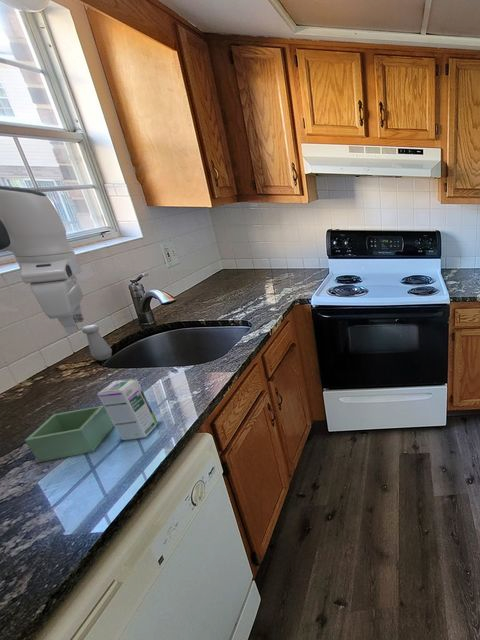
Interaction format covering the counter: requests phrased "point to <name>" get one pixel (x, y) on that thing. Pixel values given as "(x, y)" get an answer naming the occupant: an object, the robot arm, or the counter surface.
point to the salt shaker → (97, 343)
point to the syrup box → (128, 409)
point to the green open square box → (70, 433)
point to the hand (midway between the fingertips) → (76, 327)
